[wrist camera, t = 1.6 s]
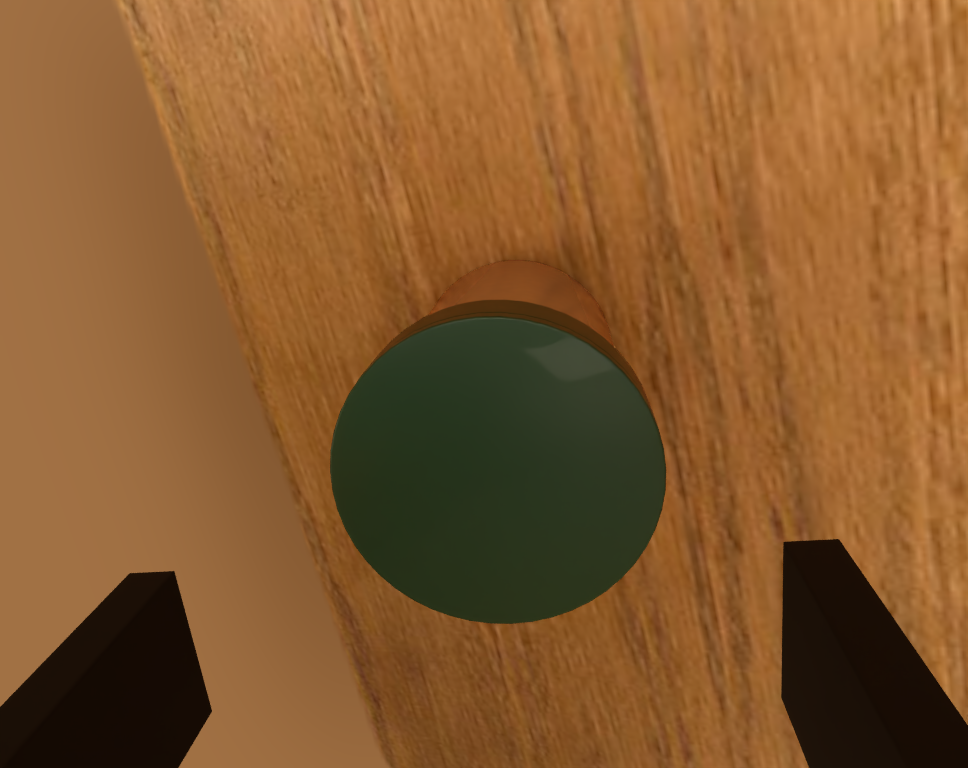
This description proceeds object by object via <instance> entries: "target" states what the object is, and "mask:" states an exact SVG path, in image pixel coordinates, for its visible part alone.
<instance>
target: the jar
mask: <svg viewBox="0 0 968 768" xmlns="http://www.w3.org/2000/svg"><path fill="white" fill-rule="evenodd" d="M504 299H505V300H514V301H524V302H529V303H534V304H538V305H542V306H546V307H549V308H552V309H554V310H557V311H560V312H562V313H565V314H567V315H569V316H571V317H573V318H575V319H577V320H579V321H581V322H582V323H584V324H586V325H587V326H589V327H590V328H592V329H593V330H594V331H596V332H597V333H599V334H600V335H601V336H603V337H604V338H605V339H606V340H607V341H608V342H609V343H610V344H611V345H612V346H613V347H614V345H613V341H612V338H611V334H610V331H609V327H608V324H607V321H606V319H605V317H604V314H603V312H602V310H601V309H600V307H599V305H598V304H597V302H596V301H595V299H594V298H593V297H592V296H591V294H590V293H589V292H588V291H587V290H586V289H585V288H584V287H583V286H582V285H581V284H580V283H579V282H577V281H576V280H575V279H573V278H572V277H570V276H569V275H567V274H566V273H564V272H562V271H560V270H558V269H556V268H553V267H551V266H548V265H545V264H541V263H537V262H533V261H523V260H510V261H501V262H495V263H491V264H488V265H485V266H482V267H479V268H477V269H475V270H473V271H471V272H469V273H467V274H466V275H464V276H463V277H461V278H460V279H458V280H457V281H456V282H455V283H453V284H452V285H451V286H450V287H449V288H448V289H447V290H446V291H445V292H444V294H443V295H442V296H441V297H440V299H439V300H438V302H437V303H436V304H435V306H434V307H433V309H432V310H431V312H430V313H429V314H428V315H430V314H433V313H435V312H437V311H439V310H442V309H445V308H448V307H451V306H455V305H458V304H462V303H467V302H474V301H480V300H504Z"/></svg>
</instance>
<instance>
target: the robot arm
mask: <svg viewBox="0 0 968 768" xmlns="http://www.w3.org/2000/svg"><path fill="white" fill-rule="evenodd" d="M781 698H782V700H783V703H784V705H785V708H786V710H787V713H788V715H789V718H790V720H791V723H792V725H793V728H794V730H795V733H796V735H797V738H798V740H799V743H800V746H801V748H802V751H803V753H804V756H805V758H806V761H807V763H808V766H809V768H968V725H967V724H966V722H965V721H964V719H963V718H962V717H961V715H960V714H959V712H958V711H957V709H956V708H955V706H954V705H953V704H952V702H951V701H950V699H949V698H948V696H947V695H946V693H945V692H944V691H943V689H942V688H941V686H940V685H939V683H938V682H937V680H936V679H935V678H934V676H933V675H932V673H931V672H930V670H929V669H928V667H927V666H926V665H925V663H924V662H923V660H922V659H921V657H920V656H919V654H918V653H917V652H916V650H915V649H914V647H913V646H912V644H911V643H910V641H909V640H908V639H907V637H906V636H905V634H904V633H903V631H902V630H901V628H900V627H899V626H898V624H897V623H896V621H895V620H894V618H893V617H892V615H891V614H890V612H889V611H888V610H887V608H886V607H885V605H884V604H883V602H882V601H881V599H880V598H879V597H878V595H877V594H876V592H875V591H874V589H873V588H872V586H871V585H870V584H869V582H868V581H867V579H866V578H865V576H864V575H863V573H862V572H861V571H860V569H859V568H858V566H857V565H856V563H855V562H854V560H853V559H852V558H851V556H850V555H849V553H848V552H847V550H846V549H845V547H844V546H843V545H842V543H841V542H840V540H839V539H833V540H813V541H792V542H784V546H783V619H782V692H781ZM211 712H212V710H211V705H210V702H209V698H208V694H207V691H206V687H205V684H204V680H203V676H202V672H201V669H200V665H199V661H198V657H197V654H196V650H195V646H194V643H193V639H192V635H191V631H190V628H189V624H188V620H187V617H186V613H185V609H184V606H183V602H182V598H181V594H180V591H179V587H178V584H177V580H176V576H175V572H174V571H169V572H148V573H130V574H129V575H128V576H127V577H126V578H125V579H124V580H123V581H122V582H121V583H120V584H119V585H118V586H117V587H116V588H115V589H114V590H113V591H112V592H111V593H110V594H109V595H108V596H107V597H106V598H105V599H104V600H103V602H101V603H100V605H98V607H97V608H96V609H95V610H94V611H93V612H92V613H91V614H90V615H89V616H88V617H87V618H86V619H85V620H84V621H83V622H82V623H81V624H80V625H79V626H78V627H77V628H76V630H74V631H73V632H72V633H71V634H70V636H69V637H68V638H67V639H66V640H65V641H64V642H63V643H62V644H61V645H60V646H59V647H58V648H57V649H56V650H55V651H54V652H53V653H52V654H51V655H50V656H49V657H48V658H47V659H46V660H45V661H44V662H43V663H42V664H41V665H40V667H38V668H37V669H36V671H35V672H34V673H33V674H32V675H31V676H30V677H29V678H28V679H27V680H26V681H25V682H24V683H23V684H22V685H21V686H20V687H19V688H18V689H17V690H16V691H15V692H14V693H13V694H12V695H11V696H10V697H9V698H8V700H7V701H5V703H4V704H3V705H2V706H1V707H0V768H178V767H179V766H180V764H181V762H182V761H183V759H184V757H185V756H186V754H187V752H188V751H189V749H190V747H191V746H192V744H193V742H194V740H195V739H196V737H197V736H198V734H199V732H200V730H201V729H202V727H203V725H204V724H205V722H206V720H207V719H208V717H209V715H210V714H211Z"/></svg>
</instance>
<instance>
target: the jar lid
mask: <svg viewBox="0 0 968 768" xmlns="http://www.w3.org/2000/svg"><path fill="white" fill-rule="evenodd" d="M330 473H331V482H332V490H333V494H334V498H335V502H336V506H337V510H338V512H339V515H340V517H341V520H342V522H343V525H344V527H345V529H346V531H347V533H348V534H349V536H350V538H351V540H352V541H353V543H354V545H355V546H356V548H357V549H358V550H359V552H360V553H361V555H362V556H363V557H364V559H365V560H366V561H367V562H368V563H369V564H370V565H371V567H372V568H373V569H374V570H375V571H376V572H377V573H378V574H379V575H380V576H381V577H382V578H384V579H385V580H386V581H387V582H388V583H390V584H391V585H392V586H393V587H394V588H396V589H397V590H399V591H400V592H402V593H403V594H405V595H406V596H408V597H409V598H411V599H413V600H414V601H416V602H418V603H420V604H422V605H424V606H426V607H429V608H431V609H433V610H436V611H438V612H441V613H444V614H447V615H449V616H453V617H457V618H461V619H465V620H469V621H476V622H484V623H499V624H513V623H524V622H533V621H537V620H542V619H547V618H551V617H554V616H557V615H560V614H563V613H566V612H569V611H572V610H574V609H576V608H578V607H580V606H582V605H584V604H586V603H588V602H590V601H592V600H593V599H595V598H596V597H598V596H599V595H601V594H603V593H604V592H606V591H607V590H608V589H609V588H611V587H612V586H613V585H614V584H615V583H616V582H618V581H619V580H620V579H621V578H622V577H623V576H624V575H625V574H626V573H627V572H628V571H629V569H630V568H631V567H632V566H633V565H634V564H635V563H636V561H637V560H638V558H639V557H640V555H641V554H642V553H643V551H644V550H645V548H646V547H647V545H648V543H649V541H650V539H651V537H652V535H653V533H654V531H655V529H656V526H657V523H658V520H659V517H660V514H661V511H662V506H663V501H664V495H665V490H666V464H665V455H664V448H663V444H662V440H661V436H660V432H659V429H658V426H657V423H656V420H655V417H654V415H653V412H652V409H651V406H650V403H649V401H648V399H647V396H646V394H645V392H644V389H643V387H642V384H641V383H640V381H639V379H638V378H637V376H636V374H635V373H634V371H633V369H632V368H631V366H630V365H629V364H628V363H627V361H626V360H625V359H624V358H623V356H622V355H621V354H620V353H619V351H618V350H617V349H616V348H614V347H613V346H612V345H611V344H610V343H609V342H608V341H607V340H606V339H605V338H604V337H603V336H601V335H600V334H599V333H597V332H596V331H594V330H593V329H592V328H590V327H589V326H587V325H586V324H584V323H582V322H581V321H579V320H577V319H575V318H573V317H571V316H569V315H567V314H565V313H562V312H560V311H557V310H554V309H552V308H549V307H546V306H542V305H538V304H534V303H529V302H524V301H514V300H505V299H504V300H480V301H474V302H467V303H462V304H458V305H455V306H451V307H448V308H445V309H442V310H439V311H437V312H435V313H433V314H430V315H428V316H426V317H424V318H422V319H420V320H419V321H417V322H415V323H414V324H412V325H411V326H409V327H407V328H406V329H405V330H403V331H402V332H401V333H400V334H399V335H397V336H396V337H395V338H394V339H393V340H391V341H390V342H389V344H388V345H387V346H386V347H385V348H384V349H383V350H382V351H381V352H380V353H379V355H378V356H377V357H376V358H375V359H374V361H373V362H372V363H371V364H370V366H369V367H368V368H367V369H366V371H365V372H364V373H363V374H362V376H361V377H360V378H359V380H358V381H357V383H356V384H355V386H354V387H353V389H352V390H351V392H350V393H349V395H348V397H347V399H346V401H345V403H344V405H343V407H342V409H341V411H340V414H339V417H338V420H337V423H336V426H335V430H334V434H333V440H332V446H331V458H330Z"/></svg>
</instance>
